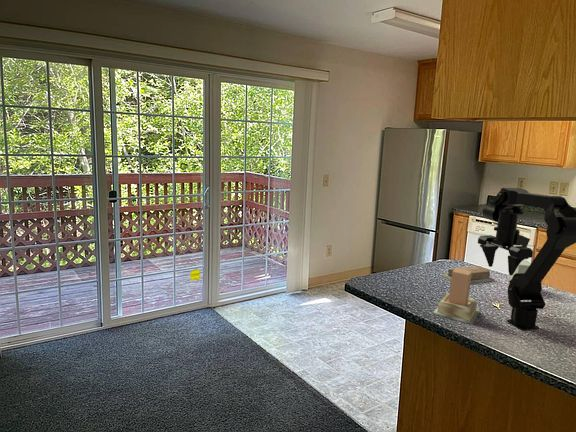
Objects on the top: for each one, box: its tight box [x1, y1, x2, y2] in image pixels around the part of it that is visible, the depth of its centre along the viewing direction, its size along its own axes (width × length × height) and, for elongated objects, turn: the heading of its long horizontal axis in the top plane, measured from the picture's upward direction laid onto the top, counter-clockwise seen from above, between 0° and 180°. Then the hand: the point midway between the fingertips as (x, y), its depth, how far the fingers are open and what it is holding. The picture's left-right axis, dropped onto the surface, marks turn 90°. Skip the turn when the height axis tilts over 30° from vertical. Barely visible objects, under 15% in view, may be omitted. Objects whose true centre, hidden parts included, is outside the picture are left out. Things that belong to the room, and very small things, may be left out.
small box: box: [508, 259, 532, 285], centre depth 166 cm, size 8×6×10 cm
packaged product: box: [441, 265, 495, 284], centre depth 175 cm, size 18×5×10 cm
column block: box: [448, 267, 472, 307], centre depth 139 cm, size 5×5×11 cm
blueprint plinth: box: [432, 293, 481, 325], centre depth 140 cm, size 12×12×4 cm
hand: (500, 270), depth 145 cm, fingers open, 9 cm apart
